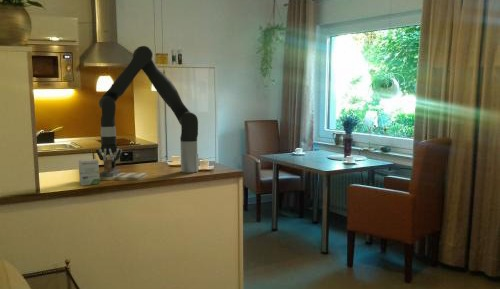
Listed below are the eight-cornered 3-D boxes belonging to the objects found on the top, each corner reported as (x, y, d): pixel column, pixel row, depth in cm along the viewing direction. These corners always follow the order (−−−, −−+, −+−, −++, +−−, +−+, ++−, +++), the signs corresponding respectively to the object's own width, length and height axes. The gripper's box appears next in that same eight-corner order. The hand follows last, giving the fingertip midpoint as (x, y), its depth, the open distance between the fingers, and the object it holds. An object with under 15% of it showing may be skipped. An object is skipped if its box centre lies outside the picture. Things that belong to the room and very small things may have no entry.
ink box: (97, 182, 223) (96, 158, 221) (99, 183, 219) (98, 160, 217) (79, 183, 219) (78, 160, 217) (81, 185, 214) (79, 161, 213)
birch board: (147, 175, 239) (147, 172, 239) (139, 180, 227) (139, 177, 226) (107, 175, 241) (107, 172, 241) (97, 180, 228) (97, 177, 228)
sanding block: (120, 173, 239) (119, 158, 238) (112, 176, 228) (112, 161, 227) (107, 172, 240) (107, 158, 239) (99, 176, 229) (98, 161, 228)
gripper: (124, 134, 235) (125, 167, 237) (98, 134, 236) (99, 167, 238) (119, 136, 228) (120, 169, 230) (92, 136, 228) (93, 169, 230)
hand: (109, 168), depth 234 cm, fingers closed on sanding block, 3 cm apart
